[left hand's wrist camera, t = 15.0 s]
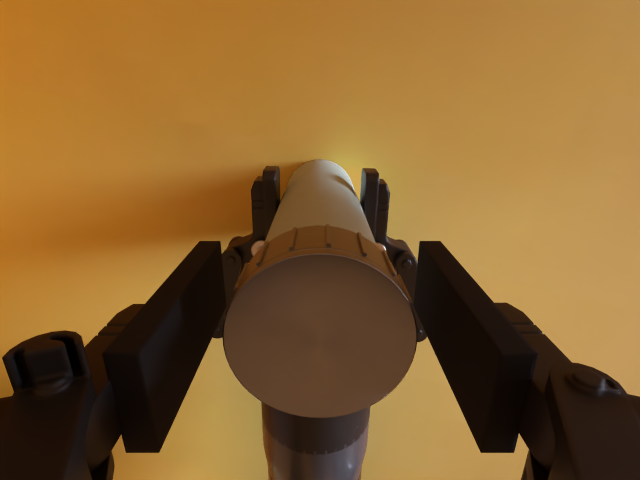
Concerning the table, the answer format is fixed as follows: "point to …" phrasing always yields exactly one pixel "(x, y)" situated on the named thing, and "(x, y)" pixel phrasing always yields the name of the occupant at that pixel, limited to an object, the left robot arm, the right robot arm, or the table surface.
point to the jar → (320, 201)
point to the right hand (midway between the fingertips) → (320, 170)
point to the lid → (320, 323)
